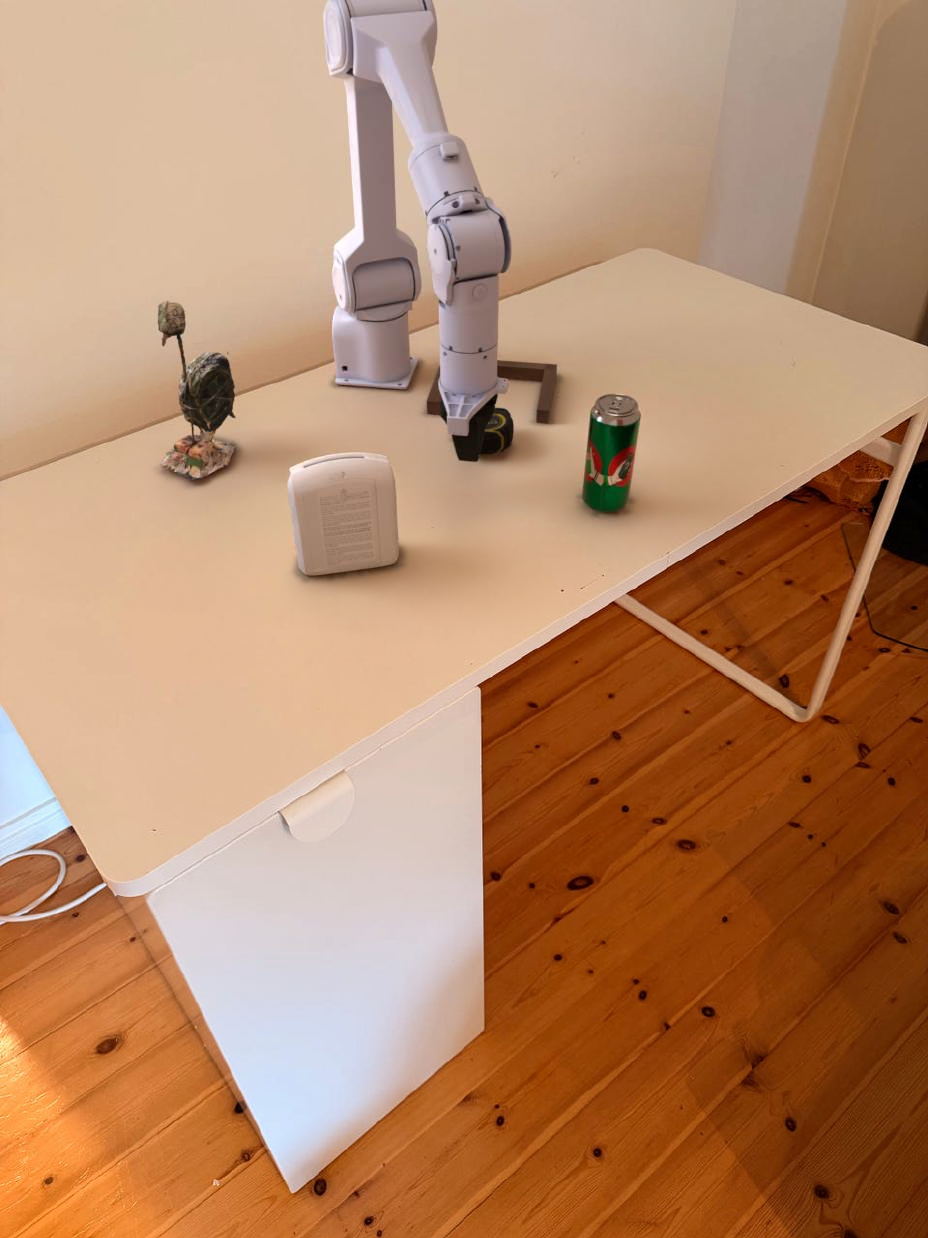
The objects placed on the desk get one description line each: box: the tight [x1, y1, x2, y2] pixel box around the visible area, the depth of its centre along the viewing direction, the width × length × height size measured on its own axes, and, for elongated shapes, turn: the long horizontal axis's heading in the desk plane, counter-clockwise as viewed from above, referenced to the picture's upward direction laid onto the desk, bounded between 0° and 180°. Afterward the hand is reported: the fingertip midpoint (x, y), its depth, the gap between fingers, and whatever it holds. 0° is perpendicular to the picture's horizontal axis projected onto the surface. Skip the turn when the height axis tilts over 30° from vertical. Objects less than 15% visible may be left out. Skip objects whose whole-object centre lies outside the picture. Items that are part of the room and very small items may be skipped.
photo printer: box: [286, 451, 400, 576], centre depth 90 cm, size 10×4×12 cm, turn 103°
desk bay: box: [426, 359, 558, 424], centre depth 117 cm, size 15×12×2 cm
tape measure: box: [479, 407, 515, 456], centre depth 108 cm, size 7×7×4 cm
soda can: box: [581, 392, 642, 514], centre depth 97 cm, size 5×5×12 cm
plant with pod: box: [157, 300, 237, 482], centre depth 101 cm, size 8×11×20 cm
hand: (468, 457), depth 100 cm, fingers closed
